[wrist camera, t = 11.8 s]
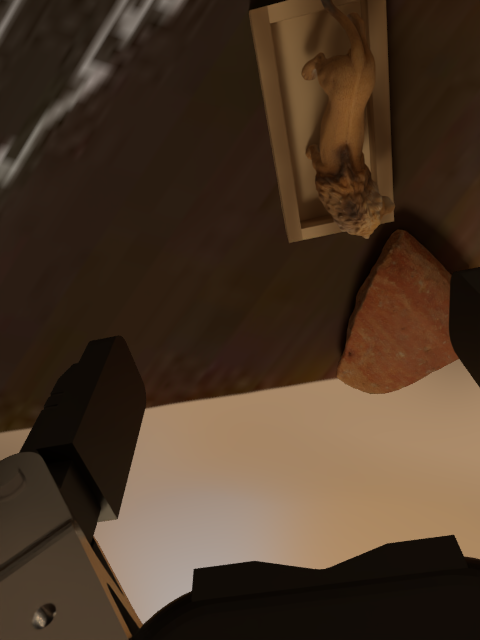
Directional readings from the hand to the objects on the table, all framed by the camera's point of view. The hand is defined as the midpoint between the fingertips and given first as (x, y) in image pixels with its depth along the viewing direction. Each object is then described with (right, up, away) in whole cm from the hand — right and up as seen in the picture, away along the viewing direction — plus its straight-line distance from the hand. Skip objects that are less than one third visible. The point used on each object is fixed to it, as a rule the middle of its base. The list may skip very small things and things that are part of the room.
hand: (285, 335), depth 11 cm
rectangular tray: (+6, +17, +25) cm, 31 cm away
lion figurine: (+6, +17, +24) cm, 30 cm away
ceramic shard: (+14, +1, +36) cm, 38 cm away
